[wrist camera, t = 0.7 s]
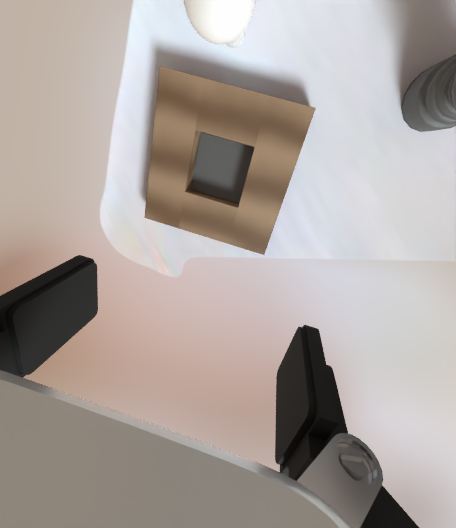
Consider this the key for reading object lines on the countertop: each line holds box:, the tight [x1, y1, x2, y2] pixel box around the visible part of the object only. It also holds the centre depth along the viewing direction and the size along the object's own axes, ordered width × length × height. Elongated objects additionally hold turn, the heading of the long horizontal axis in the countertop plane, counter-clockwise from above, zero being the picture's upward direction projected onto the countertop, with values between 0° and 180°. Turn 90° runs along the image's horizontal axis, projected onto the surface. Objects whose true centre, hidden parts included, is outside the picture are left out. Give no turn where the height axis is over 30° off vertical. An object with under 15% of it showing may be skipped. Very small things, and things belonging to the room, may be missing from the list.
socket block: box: [145, 66, 315, 255], centre depth 32 cm, size 18×18×3 cm
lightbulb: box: [184, 0, 256, 48], centre depth 23 cm, size 6×6×11 cm
